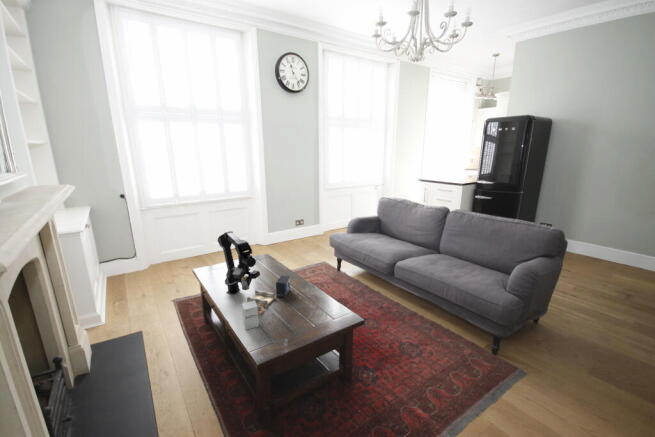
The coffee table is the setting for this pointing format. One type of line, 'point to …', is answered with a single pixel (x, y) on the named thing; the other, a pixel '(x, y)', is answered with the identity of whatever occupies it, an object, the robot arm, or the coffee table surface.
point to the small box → (282, 286)
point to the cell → (244, 283)
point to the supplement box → (250, 315)
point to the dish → (260, 310)
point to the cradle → (262, 298)
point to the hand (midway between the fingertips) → (245, 285)
